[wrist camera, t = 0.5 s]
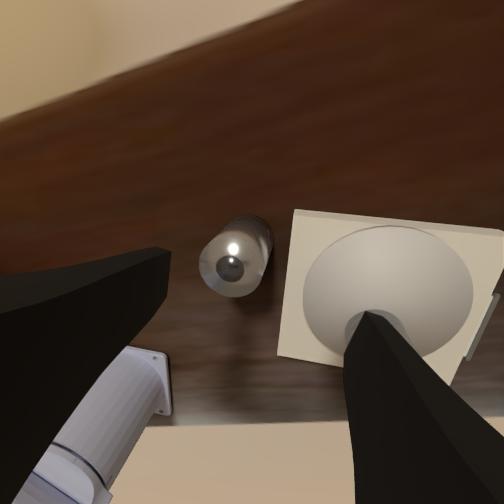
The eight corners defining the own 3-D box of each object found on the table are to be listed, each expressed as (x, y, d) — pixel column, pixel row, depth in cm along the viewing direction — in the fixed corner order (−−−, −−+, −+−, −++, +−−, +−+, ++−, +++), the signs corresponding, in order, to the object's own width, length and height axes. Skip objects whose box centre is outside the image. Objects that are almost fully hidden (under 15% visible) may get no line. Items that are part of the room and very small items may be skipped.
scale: (279, 341, 22) (275, 362, 20) (295, 207, 18) (292, 216, 16) (446, 370, 20) (462, 398, 18) (508, 228, 16) (540, 242, 14)
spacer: (224, 258, 21) (199, 292, 16) (225, 211, 19) (197, 234, 15) (271, 265, 20) (260, 302, 15) (275, 217, 19) (264, 242, 14)
